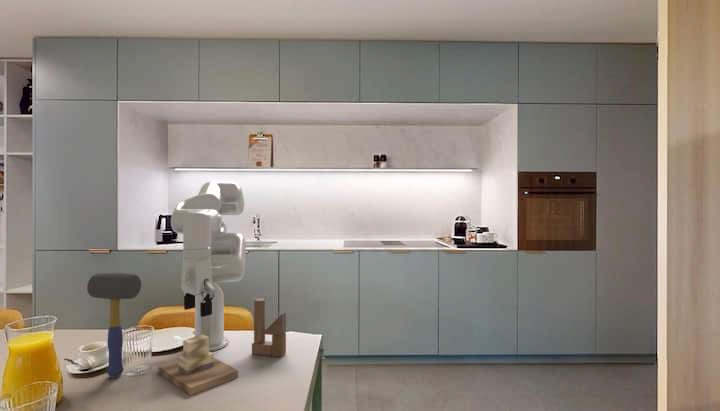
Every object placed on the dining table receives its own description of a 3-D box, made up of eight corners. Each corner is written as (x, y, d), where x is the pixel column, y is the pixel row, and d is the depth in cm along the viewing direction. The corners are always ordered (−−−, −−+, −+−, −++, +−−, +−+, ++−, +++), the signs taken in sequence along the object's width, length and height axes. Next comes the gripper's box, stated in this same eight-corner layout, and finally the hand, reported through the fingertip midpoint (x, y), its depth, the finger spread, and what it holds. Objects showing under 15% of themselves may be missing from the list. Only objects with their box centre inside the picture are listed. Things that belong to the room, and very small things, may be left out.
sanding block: (186, 375, 110) (186, 344, 110) (178, 369, 113) (178, 340, 113) (213, 365, 116) (213, 337, 116) (205, 361, 120) (205, 333, 119)
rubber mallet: (144, 371, 117) (143, 271, 116) (126, 383, 109) (125, 276, 109) (105, 369, 118) (104, 270, 117) (85, 381, 110) (84, 275, 110)
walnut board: (158, 372, 116) (158, 366, 116) (203, 358, 126) (203, 352, 126) (190, 395, 103) (190, 387, 103) (238, 377, 114) (238, 370, 113)
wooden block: (281, 357, 127) (281, 302, 127) (251, 354, 130) (251, 300, 129) (286, 353, 131) (286, 299, 131) (256, 350, 133) (256, 297, 133)
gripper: (170, 252, 117) (171, 308, 117) (199, 259, 106) (200, 322, 106) (195, 249, 122) (195, 303, 123) (225, 255, 111) (225, 315, 112)
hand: (197, 312), depth 115 cm, fingers open, 9 cm apart
